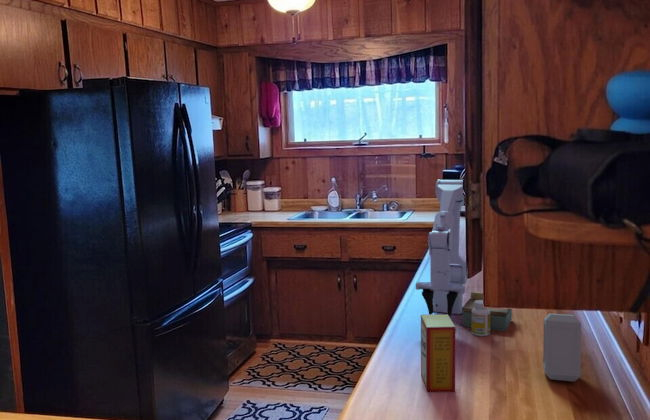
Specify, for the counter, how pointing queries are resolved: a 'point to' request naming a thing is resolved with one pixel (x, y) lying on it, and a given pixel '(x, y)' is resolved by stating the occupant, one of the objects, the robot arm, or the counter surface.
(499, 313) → the lid
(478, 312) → the supplement bottle
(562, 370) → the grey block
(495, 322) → the teal shallow tray
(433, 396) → the counter surface
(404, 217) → the counter surface
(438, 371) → the baking soda box
